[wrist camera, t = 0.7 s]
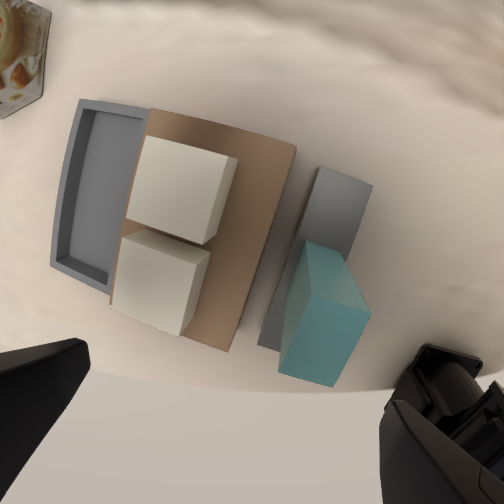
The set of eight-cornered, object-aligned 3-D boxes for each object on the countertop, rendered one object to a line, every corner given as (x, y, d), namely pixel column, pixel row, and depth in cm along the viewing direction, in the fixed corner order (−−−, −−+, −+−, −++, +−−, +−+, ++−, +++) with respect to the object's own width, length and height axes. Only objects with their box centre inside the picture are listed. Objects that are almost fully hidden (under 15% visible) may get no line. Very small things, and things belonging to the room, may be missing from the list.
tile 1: (238, 159, 15) (228, 156, 13) (216, 234, 16) (202, 244, 14) (167, 140, 15) (146, 135, 13) (148, 211, 17) (125, 217, 14)
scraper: (365, 184, 18) (434, 195, 8) (303, 343, 21) (301, 457, 11) (318, 167, 18) (342, 156, 8) (260, 329, 21) (232, 438, 11)
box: (167, 115, 18) (154, 110, 16) (127, 287, 21) (113, 296, 19) (96, 103, 18) (79, 98, 16) (65, 259, 22) (49, 266, 20)
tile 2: (210, 252, 17) (196, 265, 14) (193, 316, 18) (178, 337, 15) (144, 228, 17) (122, 237, 14) (132, 292, 18) (111, 308, 15)
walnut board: (296, 150, 18) (296, 145, 15) (236, 329, 21) (227, 352, 18) (171, 116, 18) (151, 108, 15) (130, 288, 21) (109, 304, 18)
